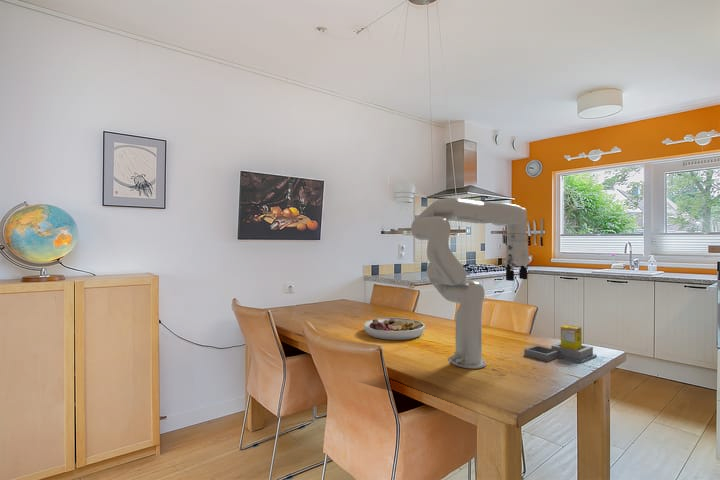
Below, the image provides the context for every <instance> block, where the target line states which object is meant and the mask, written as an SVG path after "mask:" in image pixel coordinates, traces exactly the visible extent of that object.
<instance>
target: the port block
mask: <svg viewBox="0 0 720 480" xmlns="http://www.w3.org/2000/svg"><path fill="white" fill-rule="evenodd" d="M550 346H551V347H550V348H551V349H555V350H559V351H560V355H559V357H558V358H560V359H564V360H568V361H571V362H576V363H578V364H579V363H580V364H583V363H585V362H587V361H590V360H593V359H595V358H597V355H598V354H596V353H595V354H594V346H589V345H584V344H582V349H580V350H574V349H569V348H565V347H561V342H557V343H555V344H552V345H550Z"/></svg>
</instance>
